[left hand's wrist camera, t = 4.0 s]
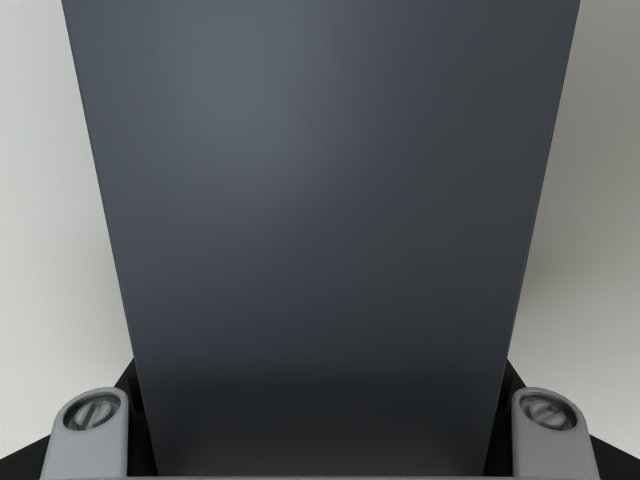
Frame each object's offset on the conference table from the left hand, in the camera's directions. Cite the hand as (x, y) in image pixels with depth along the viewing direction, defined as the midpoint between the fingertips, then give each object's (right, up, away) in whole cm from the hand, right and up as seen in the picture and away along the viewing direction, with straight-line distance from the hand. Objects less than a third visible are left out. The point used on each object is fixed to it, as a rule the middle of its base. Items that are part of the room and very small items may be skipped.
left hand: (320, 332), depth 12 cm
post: (0, +29, -10) cm, 31 cm away
